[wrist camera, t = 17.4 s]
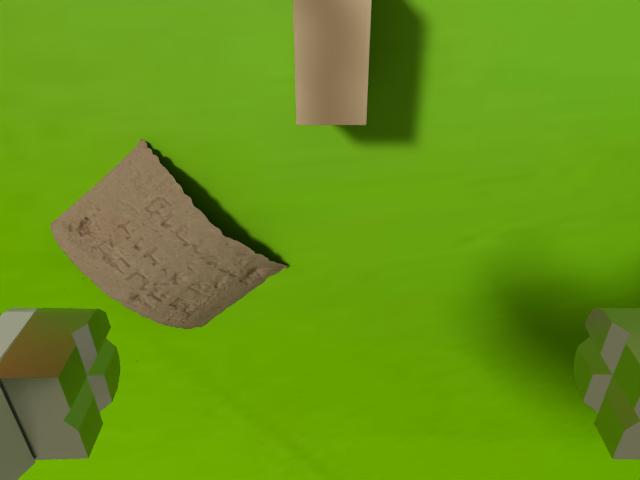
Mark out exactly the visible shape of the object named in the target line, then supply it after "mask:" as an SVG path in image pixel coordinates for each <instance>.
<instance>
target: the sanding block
mask: <svg viewBox="0 0 640 480" xmlns="http://www.w3.org/2000/svg"><path fill="white" fill-rule="evenodd" d="M371 3H372V0H293V15H294V50H295V86H296V121H297V125H366V118H367V95H368V72H369V49H370V26H371Z"/></svg>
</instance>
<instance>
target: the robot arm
mask: <svg viewBox="0 0 640 480" xmlns="http://www.w3.org/2000/svg"><path fill="white" fill-rule="evenodd" d="M584 327H585V329H586V330H587V332H588V334H589V335H590V337H589V338H587V339H586V340H585V341H584V342H582V343H581V344H580V345H579V346H578V347H577V350H576V354H575V357H574V361H573V364H574V379H575V383H576V386H577V390H578V392H579V394H580V396H581V398H582V400H583V402H585V403H586V404H587V405H589V406H590V407H591V408H593V409H594V410H595V411H597V412H598V415H597V418H596V421H595V423H594V424H595V426H596V428H597V430H598V432H599V434H600V436H601V437H602V439H603V441H604V443H605V445H606V447H607V449H608V451H609V453H610V455H611V457H612V459H640V308H594V309H593V310H592V311H591V312H590V313H589V314H588V317H587V320H586V323H585V325H584ZM110 328H111V327H110V324H109V321H108V318H107V315H106V312H104V311H102V310H101V309H74V308H41V309H40V308H11V309H9V310H7V311H5V312H4V313H3V314H2V315H1V316H0V480H17V479H18V478H19V477H20V476H22V475H23V474H24V473H25V472H26V471H27V470H28V469H29V468H30V467H31V466H32V465H33V464H34V463H35V460H44V459H80V458H89V456H90V453H91V451H92V449H93V446H94V444H95V441H96V439H97V437H98V434H99V432H100V430H101V427H102V425H103V422H102V419H101V416H100V413H99V412H100V411H101V410H102V409H104V408H105V407H106V406H107V405H109V404H110V403H111V402H112V401H113V398H114V396H115V393H116V391H117V388H118V382H119V376H120V361H119V355H118V351H117V347H116V346H115V345H113V344H112V343H111V342H110V341H109V340H107V339H106V336H107V334H108V332H109V330H110Z"/></svg>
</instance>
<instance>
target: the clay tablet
mask: <svg viewBox="0 0 640 480" xmlns="http://www.w3.org/2000/svg"><path fill="white" fill-rule="evenodd" d="M51 230H52V232H53V236H54V238H55V239H56V241H57V243H58V245H59V247H60V248H62V249H63V251H64V253H65V254H67V255H68V257H69V259H70V260H71V261H72V262H73V263H74V264H76V265H77V267H78V268H79V270H80V271H81V272H82V273H83V274H84V275H86V276H87V277H89V278H90V279H91V280H92V281H93V282H94V283H95V284H96V285H97V286H98V287H99V288H100V289H101V290H102V291H103V292H105V293H106V294H107V295H108V296H110V297H111V298H112V299H115V300H117V301H119V302H120V303H121V304H122V305H124V306H125V307H127V308H129V309H131V310H133V311H134V312H137V313H139V314H140V315H141V316H143V317H146V318H149V319H152V320H154V321H155V322H157V323H160V324H163V325H167V326H171V327H176V328H184V329H192V328H194V327H202V326H204V325H206V324H207V323H208V322H209V321H211V320H212V319H213V318H214V317H215V316H217V315H218V314H220V313H221V312H223V311H224V310H225V309H226V308H227V307H229V306H231V305H232V304H234V303H235V302H236V301H238V300H239V299H241V298H242V297H244V296H245V295H246V294H247V293H249V292H250V291H252V290H253V289H254V288H256V287H257V286H259V285H260V284H262V283H263V282H264V281H265V280H266V279H267V278H268V277H269V276H271V275H274V274H277V273H278V272H279V271H281V270H282V269H283V268H288V266H287V265H283V264H280V263H276V262H275V261H269V259H268V258H266V257H265V256H264V255H262V254H255V252H254V251H253V250H251V249H250V248H249V247H247V246H245V245H244V244H242V243H240V242H239V241H236V240H233V239H231V238H228V237H225V236H224V235H223V234H222V232H221V230H220V229H219V228H217V227H215V226H214V225H213V224H211V223H210V222H209V221H208V219H207V217H206V216H205V215H204V214H203V213H202V212H201V211H200V210H199V209H197V208H196V207H194V205H193V203H192V199H191V198H190V197H189V196H187V195H186V194H184V192H183V189H182V187H181V185H180V184H178V183H176V181H175V179H174V177H173V176H172V175H171V174H169V172H168V170H167V169H166V168H165V167H164V166H162V164H160V162H159V158H158V156H156V155H153V153H152V150H151V149H150V148H147V143H146V142H145V141H142V140H141V139H140V141H139V143H138V145H137V146H136V147H135V149H134V150H132V151H131V152H130V153H129V154H128V155H127V156H126V157H125V158H124V159H123V160H122V161H121V162H120V163H119V164H118V165H117V166H116V167H115V168H113V169H112V170H111V171H110V172H109V173H108V174H107V175H106V176H105V177H104V178H103V179H102V180H101V181H100V182H99V183H98V184H97V185H95V186H94V187H93V188H92V189H91V190H89V191H88V192H87V193H86V194H85V195H83V196H82V197H81V198H80V199H79V200H78V201H77V202H76V203H75V204H74V205H72V206H71V207H70V208H69V209H68V210H67V211H65V212H64V213H63V214H62V215H61V216H60V217H59V218H58V219H56V220H55V221H54V222H52V223H51Z"/></svg>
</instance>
